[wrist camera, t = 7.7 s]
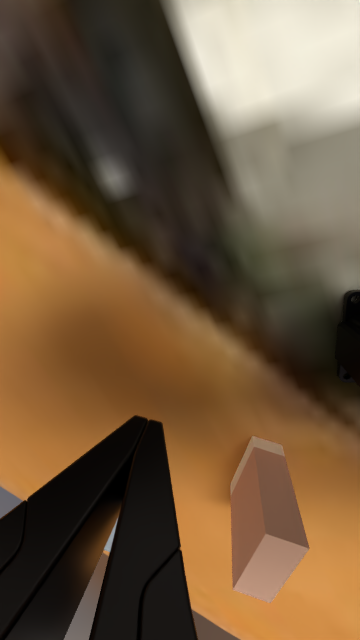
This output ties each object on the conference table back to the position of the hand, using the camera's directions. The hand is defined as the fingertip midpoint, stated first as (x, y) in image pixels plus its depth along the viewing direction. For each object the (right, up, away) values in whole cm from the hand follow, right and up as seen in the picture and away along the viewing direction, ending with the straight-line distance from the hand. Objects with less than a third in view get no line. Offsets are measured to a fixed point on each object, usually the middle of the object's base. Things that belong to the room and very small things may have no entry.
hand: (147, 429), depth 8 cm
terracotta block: (+7, -9, +15) cm, 19 cm away
